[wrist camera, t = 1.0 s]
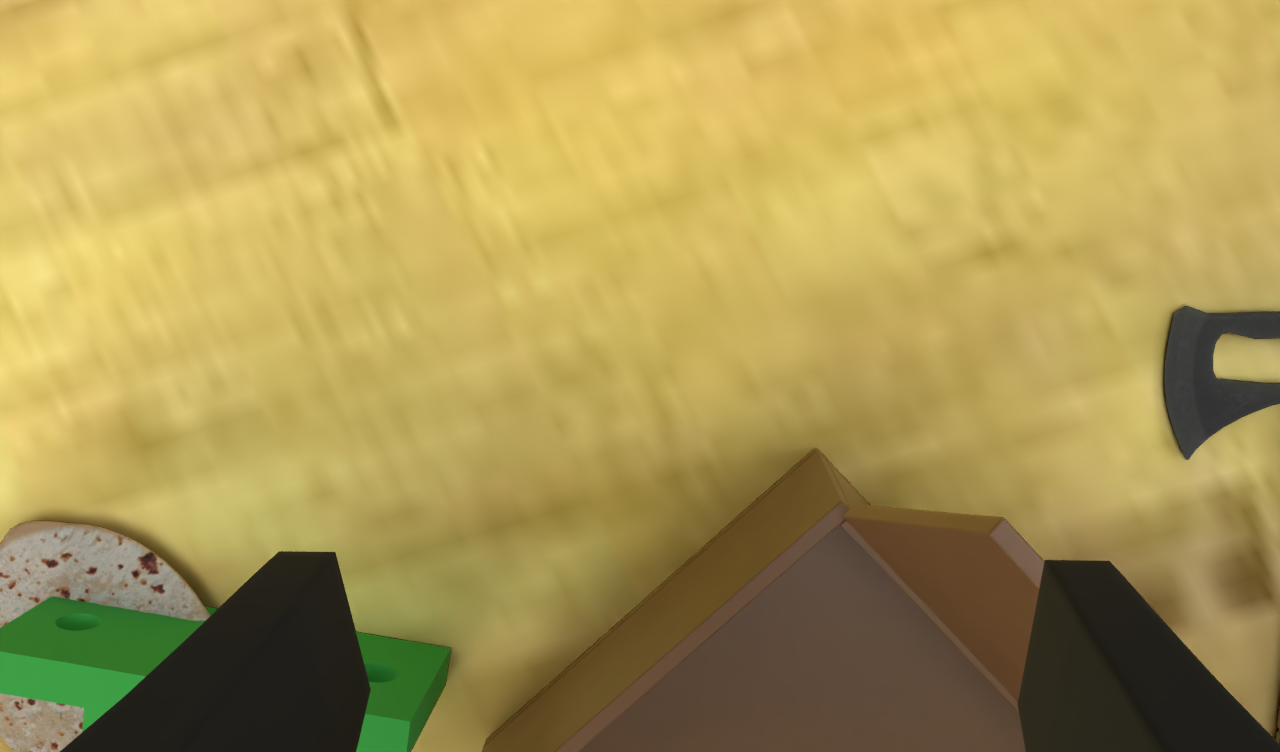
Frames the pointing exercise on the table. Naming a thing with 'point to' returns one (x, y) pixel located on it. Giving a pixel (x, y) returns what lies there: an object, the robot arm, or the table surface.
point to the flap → (964, 577)
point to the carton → (775, 651)
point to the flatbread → (85, 572)
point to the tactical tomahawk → (1212, 377)
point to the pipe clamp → (138, 642)
